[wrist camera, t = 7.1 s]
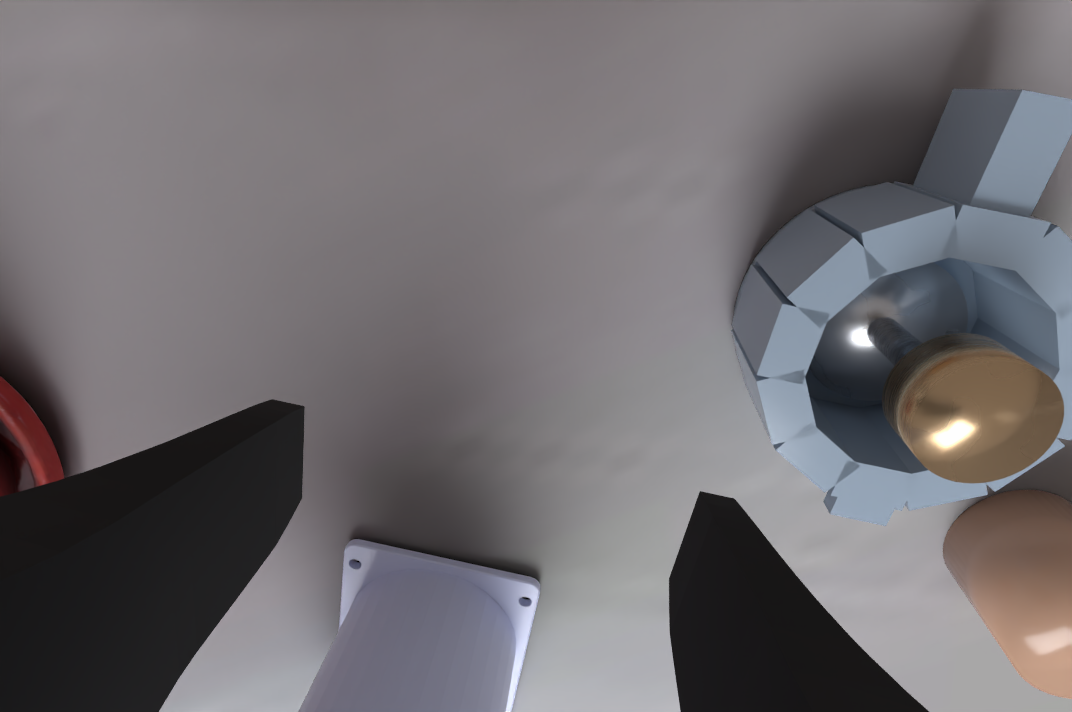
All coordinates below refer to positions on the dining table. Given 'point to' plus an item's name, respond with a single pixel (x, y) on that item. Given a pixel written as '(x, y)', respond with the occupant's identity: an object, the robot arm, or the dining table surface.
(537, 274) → the dining table surface
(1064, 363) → the press pot
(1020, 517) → the tan rounded cylinder
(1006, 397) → the plunger
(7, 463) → the plant pot
